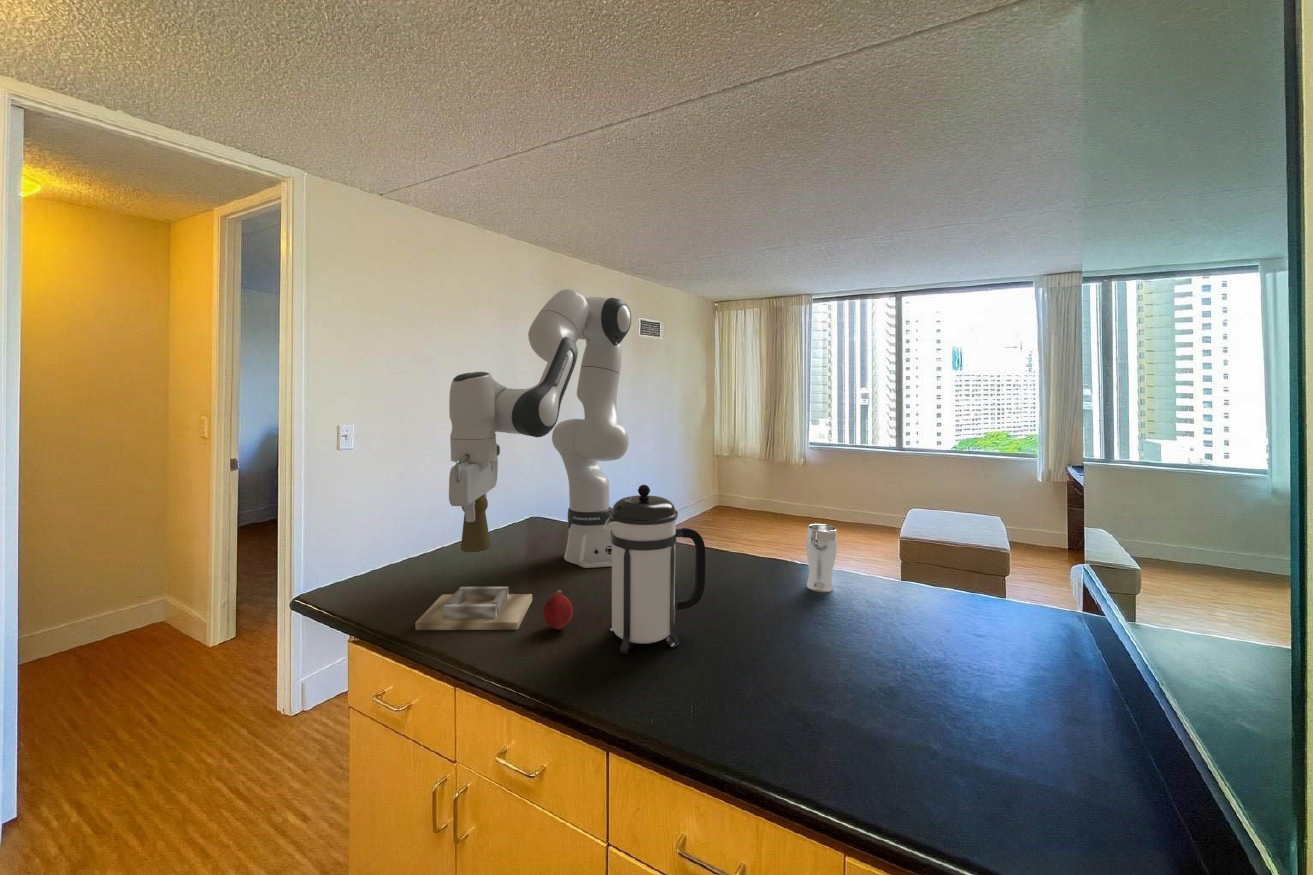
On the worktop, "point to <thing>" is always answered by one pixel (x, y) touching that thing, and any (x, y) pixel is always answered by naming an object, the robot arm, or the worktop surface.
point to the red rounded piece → (557, 610)
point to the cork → (476, 529)
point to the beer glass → (821, 556)
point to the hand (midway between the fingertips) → (475, 517)
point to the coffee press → (648, 569)
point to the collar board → (476, 610)
